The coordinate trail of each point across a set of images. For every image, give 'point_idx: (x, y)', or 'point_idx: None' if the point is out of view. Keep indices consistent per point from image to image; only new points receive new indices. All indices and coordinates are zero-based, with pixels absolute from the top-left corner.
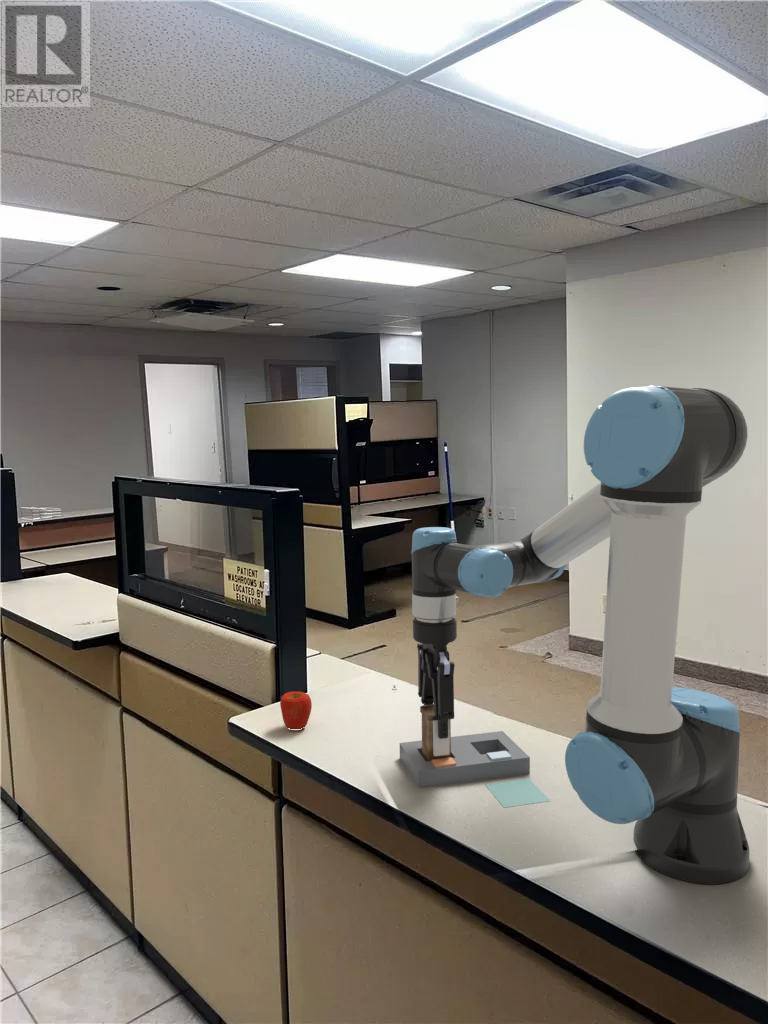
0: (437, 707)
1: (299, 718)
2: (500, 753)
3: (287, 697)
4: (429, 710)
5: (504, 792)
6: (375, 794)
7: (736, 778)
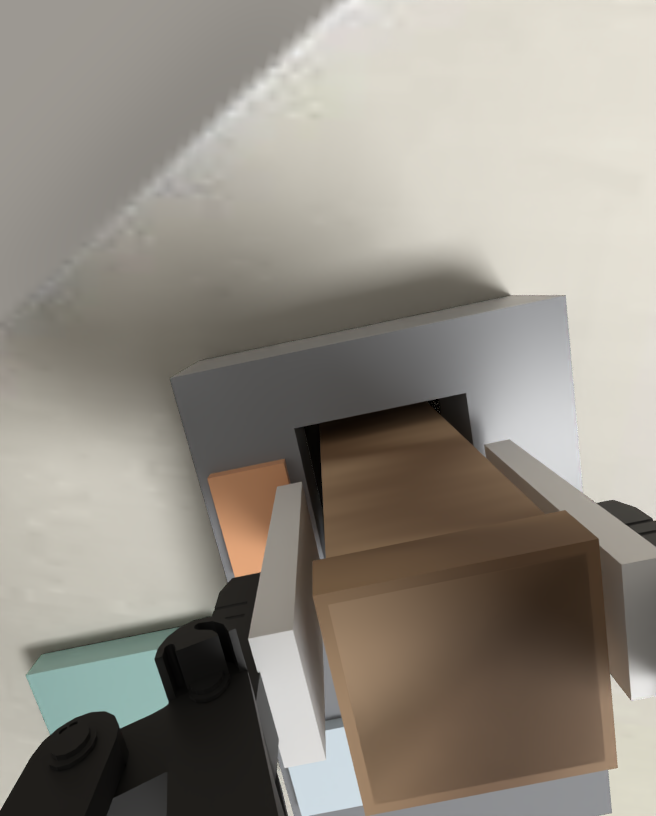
0: (172, 809)
1: None
2: (337, 779)
3: None
4: (446, 625)
5: (149, 694)
6: (205, 155)
7: None
